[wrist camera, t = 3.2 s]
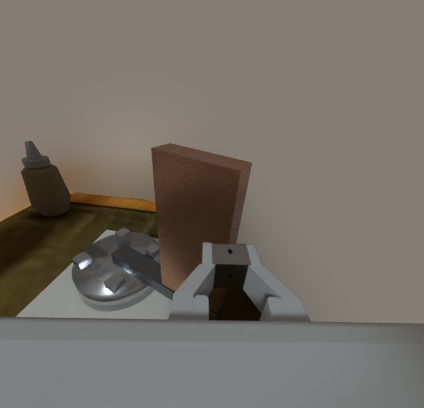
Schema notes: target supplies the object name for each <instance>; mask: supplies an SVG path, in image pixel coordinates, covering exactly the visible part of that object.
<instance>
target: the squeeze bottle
mask: <svg viewBox="0 0 424 408" xmlns="http://www.w3.org/2000/svg"><path fill="white" fill-rule="evenodd" d="M25 146H26V154H27V157H25V158H23V159H22V162H23V164H24V166H25V168H24V169H23V170H22V171H21V174H22V177H23V180H24V183H25V186H26V189H27V193H28V196H29V199H30V203H31V205H32V206H33V207H34V208H35V209H36V210H38V211H39V212H40V213H41V214H42V215H43V216H46V217H52V216H58V215H61V214H63V213H65V212H67V211H68V210H69V208H70V199H71V195H70V193H69V191H68V189H67V187H66V185H65V183H64V181H63V179H62V177H61V175H60V173H59V171H58V168H57V167H56V166H54V165H52V164H50V161H49V158H48V157H47V156H42V155H41V154H40V153H39V151H38V150H37V148H36V147H35V145H34V144H33V142H31V141H28V142H25Z"/></svg>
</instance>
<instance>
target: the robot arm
mask: <svg viewBox="0 0 424 408" xmlns="http://www.w3.org/2000/svg"><path fill="white" fill-rule="evenodd" d="M213 288H243V290H244V291H245V292H246V294H247V295H248V296H249V298H250V299H251V300H252V302H253V303H254V304H255V306H256V307H257V308H258V310H259V311H260V312H261V314H262V315H261V318H260V321H228V320H209V301H208V296H209V294H210V293H211V291H212V289H213ZM0 408H424V324H411V323H352V322H351V323H350V322H311V321H310V319H309V317H308V315H307V312H306V310H305V308H304V306H303V304H302V302H301V300H300V297H299V296H298V295H297V294H295V293H294V292H293V291H292V290H291V289H290V288H289V287H288V286H286V285H285V284H284V283H283V282H282V281H281V280H279V279H278V278H277V277H276V276H275V275H274V274H273V273H272V272H271V271H269V270H268V269H267V268H266V267H265V266H262V265H261V262H260V259H259V256H258V253H257V250H256V247H255V245H254V244H228V243H209V242H203V249H202V264H199V265H198V266H197V267H196V268H195V270H194V271H193V272H192V273H191V274H190V275H189V277H188V278H187V279H186V280H185V281H184V282H183V283H182V285H181V286H180V287H179V288H178V289H177V290H176V291H175V293H174V294H173V300H172V305H171V311H170V316H169V319H109V318H50V317H0Z"/></svg>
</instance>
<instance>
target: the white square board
mask: <svg viewBox="0 0 424 408" xmlns="http://www.w3.org/2000/svg"><path fill="white" fill-rule="evenodd" d="M115 232H117V231H111V230H106V231H105V232H104V233H103V234H102V235H101V236H100V237H99V238H98V239H97V240H96V241H95V242H97V241H98V240H100V239H103V238H105V237H108V236H111V235H114V234H115ZM154 239H155V240H156V241H157V242H158V243H159V239H157V238H154ZM95 242H94V243H95ZM73 265H74V264H73V263H72V264H71V265H70V266H69V267H67V268H66V269H65V270H64V271H63V272H62V273H61V274H60V275H59V276H58V277H57V278H56V279H55V280H54V281H53V282H52V283H51V284H50V285H49V286H48V287H47V288H45V289H44V290H43V291H42V292H41V293H40V294H39V295H38V296H37V297H36V298H35V299H34V300H33V301H32V302H31V303H30V304H29V305H28V306H27V307H26V308H25V309H24V310H22V311H21V312H20V313H19V314H18V315H17V316H16V317H50V318H109V319H169V316H170V311H171V305H172V300H170V299H169V298H167V297H165V296H164V295H162V294H161V293H159V292H158V291H156V290H153V291H152V292H151V293H150V294H149V295H148V296H147V297H146V298H145V299H143V300H142V301H140V302H139V303H137V304H135V305H133V306H131V307H128V308H125V309H122V310H117V311H99V310H95V309H92V308H90V307H89V306H87V305H86V304H85V303H84V302H83V301H82V299H81V298H80V295H79V293H78V291H77V289H76V287H75V284H74V282H73V279H72V268H73Z"/></svg>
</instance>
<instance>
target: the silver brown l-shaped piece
mask: <svg viewBox="0 0 424 408" xmlns="http://www.w3.org/2000/svg"><path fill="white" fill-rule="evenodd" d="M151 150H152V162H153V175H154V188H155V201H156V214H157V226H158V239H159V243H158V242H157V241H156V240H155V239H154V238H152V237H150V236H148V235H146V234H142V233H136V232H130V231H129V230H127V229H125V228H122V229H120V230H119V231H117V232H115V234H114V235H111V236H108V237H105V238H103V239H100V240H98V241H97V242H95V243H93V244H92V245H90V246H89V247H87V248H86V249H85V250H84V251H83V252H82V253H80V254H79V255H77V256H75V257H74V258H72V261H73V264H74V265H73V268H72V279H73V282H74V284H75V287H76V289H77V291H78V293H79V295H80V298H81V299H82V301H83V302H84V303H85V304H86V305H87V306H89V307H90V308H92V309H95V310H99V311H117V310H122V309H125V308H128V307H131V306H133V305H135V304H137V303H139V302H140V301H142V300H143V299H145V298H146V297H147V296H148V295H149V294H150V293H151V292H152V291H153V290H156V291H158V292H159V293H161V294H162V295H164V296H165V297H167V298H169V299H170V300H173V294H174V293H175V291H176V290H177V289H178V288H179V287H180V286H181V285H182V283H183V282H184V281H185V280H186V279H187V278H188V277H189V275H190V274H191V273H192V272H193V271H194V270H195V268H196V267H197V266H198V265H199V264H202V249H203V242H209V243H228V244H236V240H237V235H238V230H239V225H240V220H241V215H242V211H243V206H244V200H245V196H246V190H247V185H248V181H249V176H250V171H251V166H252V163H251V162H247V161H243V160H238V159H234V158H230V157H225V156H221V155H217V154H213V153H209V152H204V151H200V150H196V149H192V148H188V147H183V146H179V145H175V144H171V143H170V144H166V145H161V146H158V147H153V148H151ZM226 290H227V288H213V289H212V291H211V293H210V294H209V296H208V301H209V320H218V318H219V316H220V314H221V312H222V310H223V306H224V301H225V295H226Z"/></svg>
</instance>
